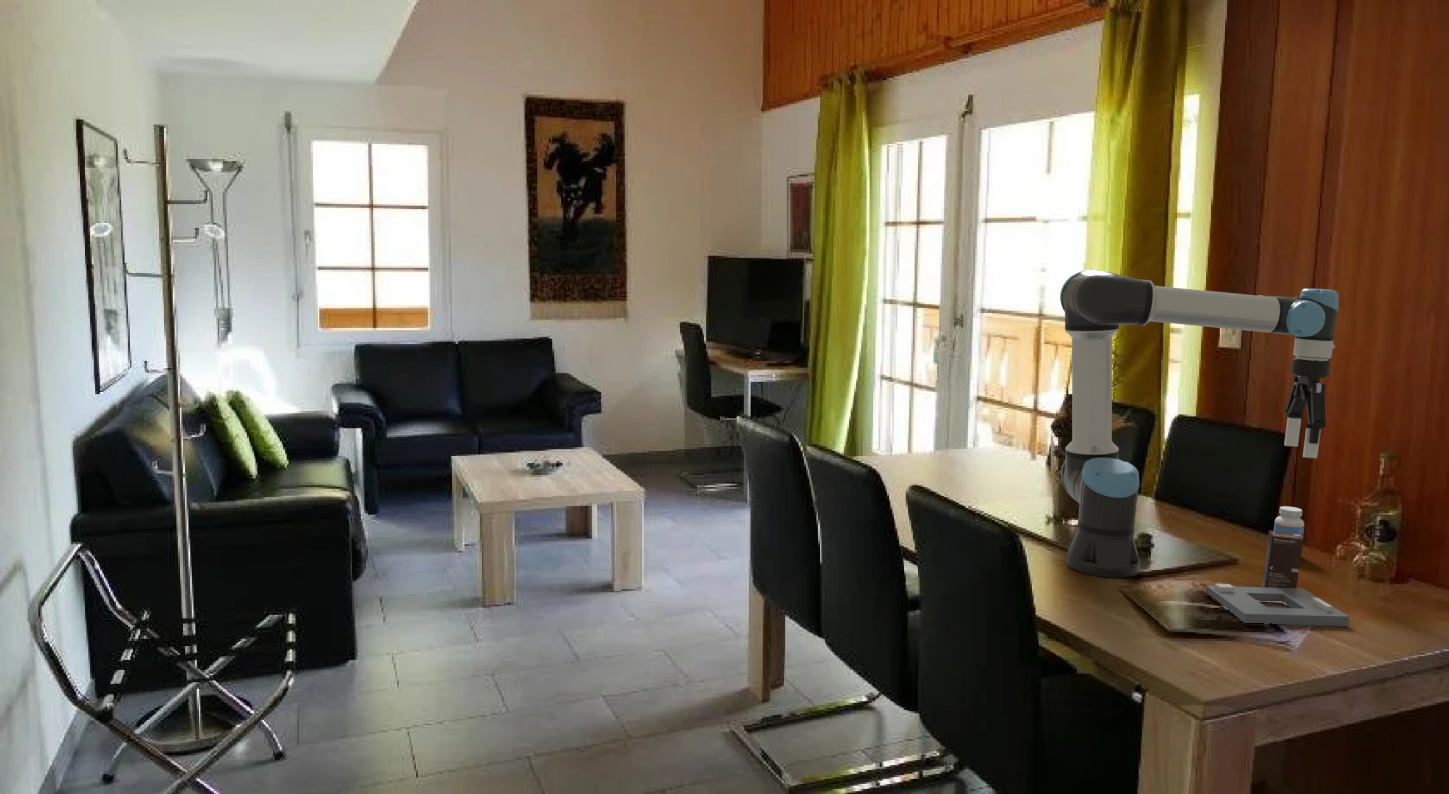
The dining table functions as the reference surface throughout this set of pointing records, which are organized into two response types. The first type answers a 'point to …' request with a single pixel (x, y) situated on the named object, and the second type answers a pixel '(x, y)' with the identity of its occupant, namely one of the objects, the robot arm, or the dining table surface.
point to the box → (1282, 560)
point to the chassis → (1300, 609)
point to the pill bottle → (1289, 521)
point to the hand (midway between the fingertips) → (1300, 451)
